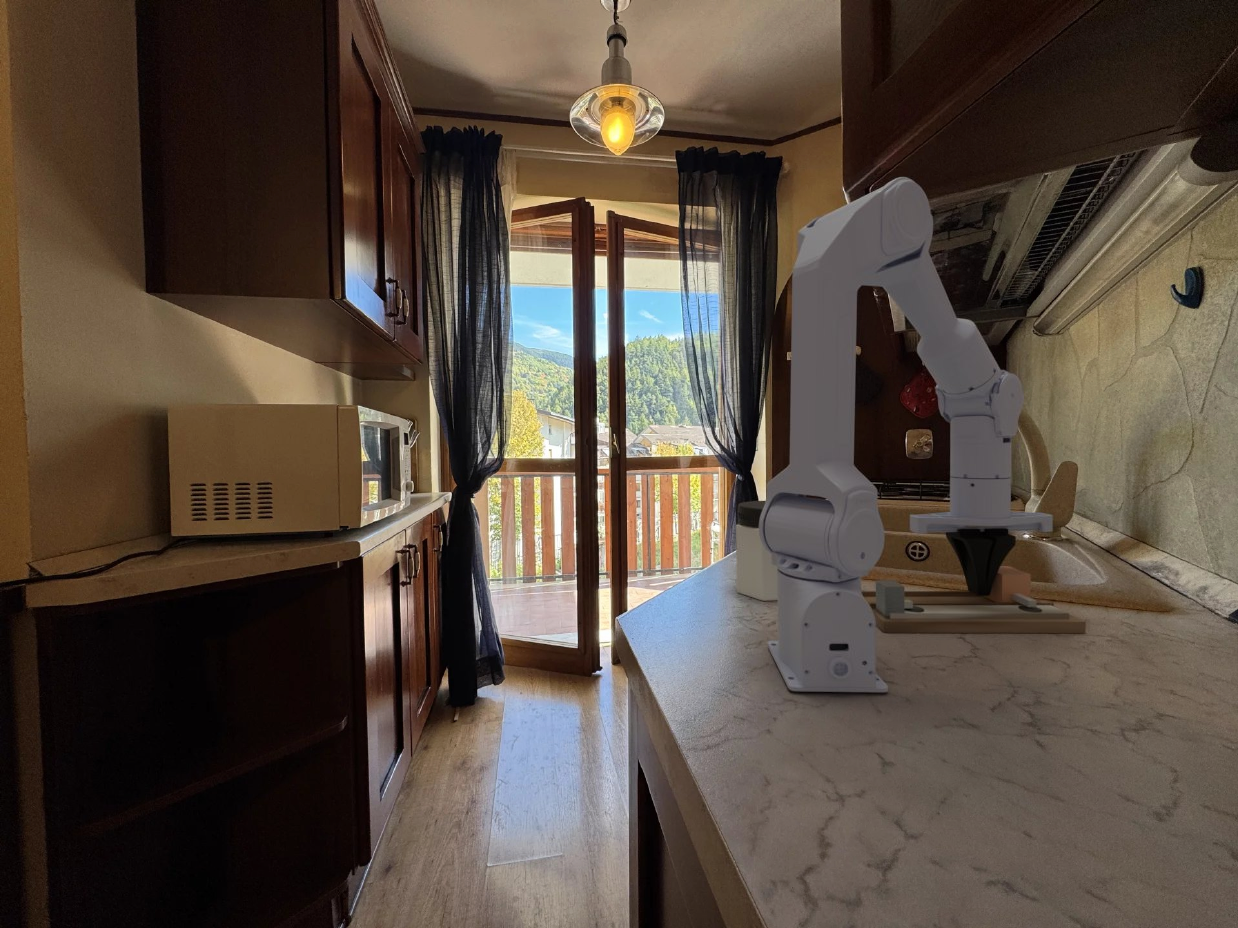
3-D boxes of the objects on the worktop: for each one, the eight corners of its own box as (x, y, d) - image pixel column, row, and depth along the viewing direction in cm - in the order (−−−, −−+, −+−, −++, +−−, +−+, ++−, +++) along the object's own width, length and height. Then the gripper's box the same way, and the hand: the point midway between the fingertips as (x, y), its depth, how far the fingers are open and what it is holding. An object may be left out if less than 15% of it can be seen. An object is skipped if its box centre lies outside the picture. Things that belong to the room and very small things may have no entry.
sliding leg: (1047, 612, 54) (1047, 580, 54) (1017, 612, 55) (1017, 581, 54) (1008, 595, 60) (1008, 566, 60) (982, 595, 61) (982, 566, 60)
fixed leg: (916, 618, 54) (916, 586, 54) (885, 618, 55) (885, 586, 55) (905, 610, 57) (906, 580, 57) (875, 610, 57) (875, 580, 57)
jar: (747, 579, 75) (745, 499, 74) (805, 585, 71) (804, 501, 70) (731, 597, 67) (729, 507, 66) (795, 605, 63) (794, 510, 62)
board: (1085, 633, 52) (1085, 615, 52) (883, 632, 54) (883, 615, 54) (1026, 605, 61) (1026, 589, 61) (853, 605, 63) (853, 590, 62)
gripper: (1022, 472, 62) (1020, 582, 62) (897, 475, 63) (898, 583, 64) (1068, 477, 54) (1066, 601, 55) (927, 481, 56) (927, 601, 57)
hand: (978, 593), depth 59 cm, fingers closed
